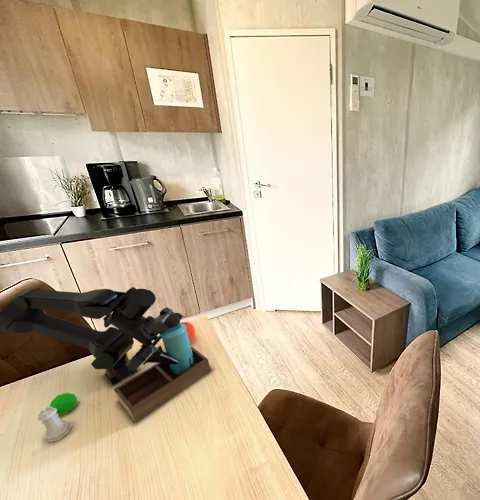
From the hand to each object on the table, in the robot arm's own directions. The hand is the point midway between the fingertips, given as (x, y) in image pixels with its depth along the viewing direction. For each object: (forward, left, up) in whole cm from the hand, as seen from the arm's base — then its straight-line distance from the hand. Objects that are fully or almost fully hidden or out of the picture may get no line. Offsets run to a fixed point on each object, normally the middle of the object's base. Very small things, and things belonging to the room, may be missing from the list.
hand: (183, 355), depth 83 cm
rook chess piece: (-8, -28, -8) cm, 30 cm away
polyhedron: (-15, -25, -8) cm, 30 cm away
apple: (-15, +6, -8) cm, 18 cm away
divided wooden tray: (-1, -6, -7) cm, 9 cm away
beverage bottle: (-1, 0, -7) cm, 7 cm away
